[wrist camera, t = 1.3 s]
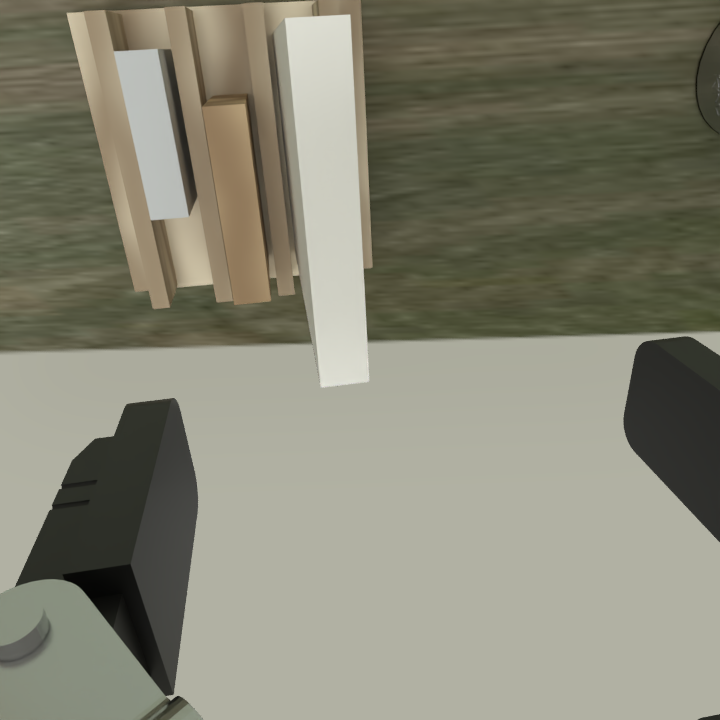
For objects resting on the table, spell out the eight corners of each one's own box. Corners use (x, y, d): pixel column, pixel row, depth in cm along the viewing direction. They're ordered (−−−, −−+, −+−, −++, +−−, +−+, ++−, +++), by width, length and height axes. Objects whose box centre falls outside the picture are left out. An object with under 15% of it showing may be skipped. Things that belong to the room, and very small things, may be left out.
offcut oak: (247, 93, 35) (245, 104, 28) (268, 256, 40) (271, 301, 33) (213, 95, 35) (201, 107, 28) (238, 259, 39) (234, 304, 32)
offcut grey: (173, 49, 33) (157, 48, 28) (198, 193, 37) (189, 216, 32) (136, 51, 33) (113, 51, 28) (165, 196, 37) (150, 220, 32)
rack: (357, 0, 35) (372, -8, 30) (369, 262, 42) (383, 287, 38) (72, 14, 33) (42, 8, 28) (138, 285, 40) (123, 315, 36)
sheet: (306, 31, 34) (350, 14, 18) (325, 251, 40) (369, 381, 24) (271, 33, 34) (284, 18, 18) (295, 254, 40) (320, 387, 24)
